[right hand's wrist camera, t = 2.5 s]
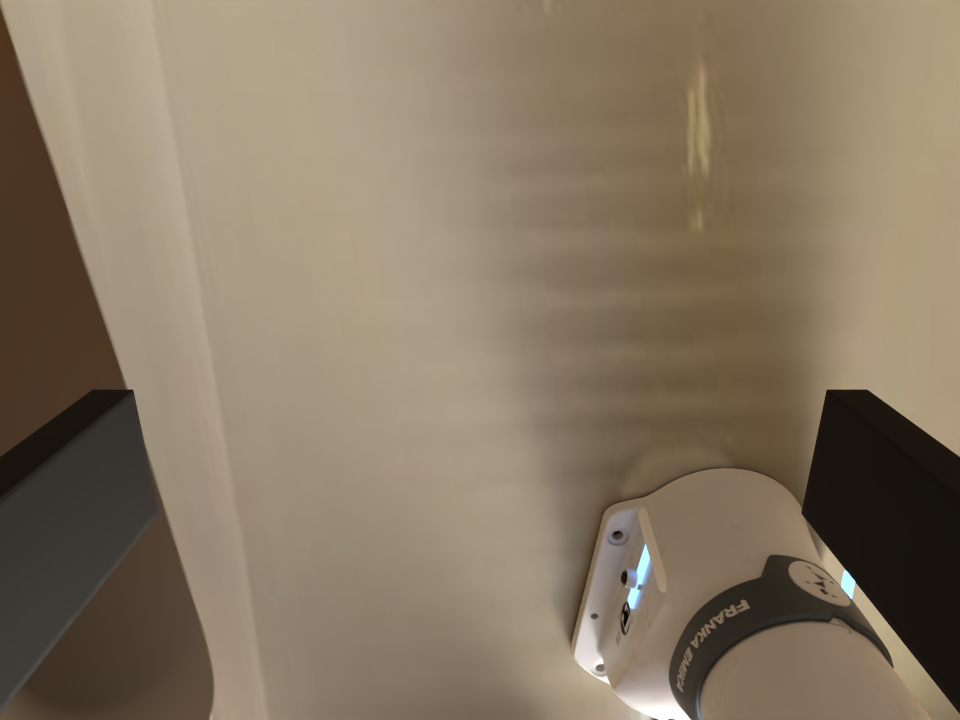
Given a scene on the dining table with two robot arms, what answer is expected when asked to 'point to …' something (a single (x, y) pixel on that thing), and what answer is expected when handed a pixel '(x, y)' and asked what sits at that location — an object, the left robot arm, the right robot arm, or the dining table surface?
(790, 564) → the left robot arm
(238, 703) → the dining table surface
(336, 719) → the dining table surface
